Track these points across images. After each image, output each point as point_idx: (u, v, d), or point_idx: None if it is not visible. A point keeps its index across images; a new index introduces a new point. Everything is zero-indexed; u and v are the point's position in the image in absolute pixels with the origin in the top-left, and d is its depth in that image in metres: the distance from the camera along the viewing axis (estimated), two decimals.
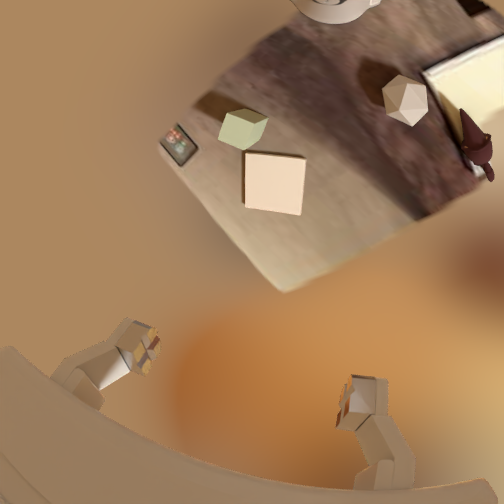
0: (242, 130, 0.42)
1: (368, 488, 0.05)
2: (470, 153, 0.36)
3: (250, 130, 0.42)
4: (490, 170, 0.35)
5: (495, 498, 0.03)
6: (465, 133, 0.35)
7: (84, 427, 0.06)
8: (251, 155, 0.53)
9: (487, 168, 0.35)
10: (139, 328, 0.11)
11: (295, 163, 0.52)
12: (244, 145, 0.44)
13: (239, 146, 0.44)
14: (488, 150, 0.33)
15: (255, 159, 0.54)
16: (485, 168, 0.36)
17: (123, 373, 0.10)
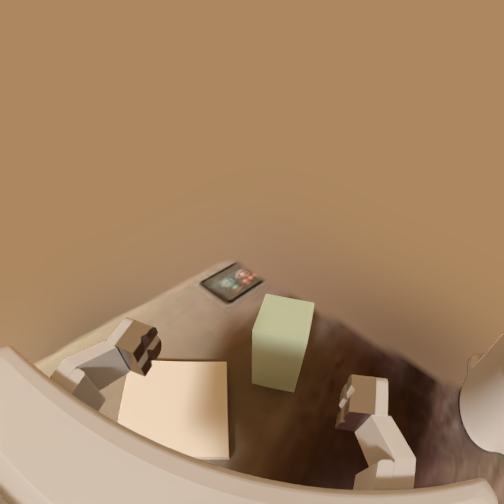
0: (290, 325, 0.25)
1: (368, 488, 0.05)
2: None
3: (293, 336, 0.24)
4: None
5: (495, 498, 0.03)
6: None
7: (84, 427, 0.06)
8: (223, 370, 0.30)
9: None
10: (139, 328, 0.11)
11: (217, 440, 0.23)
12: (262, 330, 0.24)
13: (258, 323, 0.25)
14: None
15: (217, 376, 0.29)
16: None
17: (123, 373, 0.10)
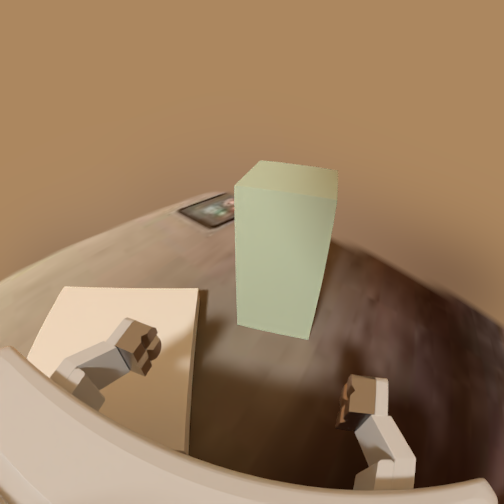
0: (302, 183, 0.14)
1: (368, 488, 0.05)
2: None
3: (309, 194, 0.13)
4: None
5: (495, 498, 0.03)
6: None
7: (84, 427, 0.06)
8: (192, 299, 0.19)
9: None
10: (139, 328, 0.11)
11: (166, 416, 0.12)
12: (252, 186, 0.13)
13: (246, 179, 0.14)
14: None
15: (180, 308, 0.19)
16: None
17: (123, 373, 0.10)
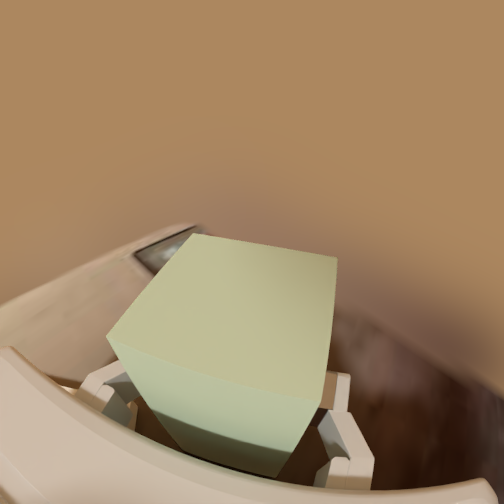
0: (249, 329, 0.06)
1: (322, 485, 0.06)
2: None
3: (257, 380, 0.05)
4: None
5: (495, 498, 0.03)
6: None
7: (84, 427, 0.06)
8: None
9: None
10: None
11: None
12: (137, 341, 0.06)
13: (136, 313, 0.06)
14: None
15: None
16: None
17: None
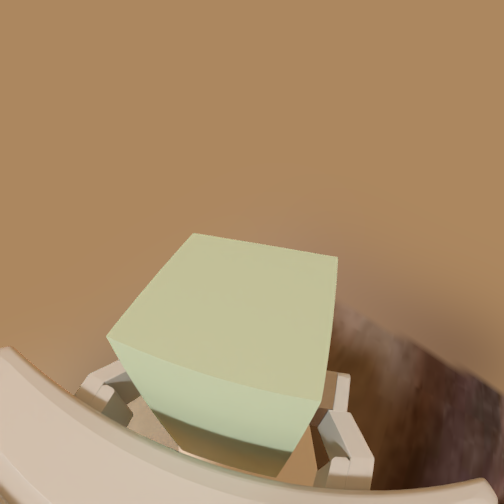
0: (249, 329, 0.06)
1: (322, 485, 0.06)
2: None
3: (257, 380, 0.05)
4: None
5: (495, 498, 0.03)
6: None
7: (84, 427, 0.06)
8: None
9: None
10: None
11: None
12: (137, 340, 0.06)
13: (136, 313, 0.06)
14: None
15: None
16: None
17: None
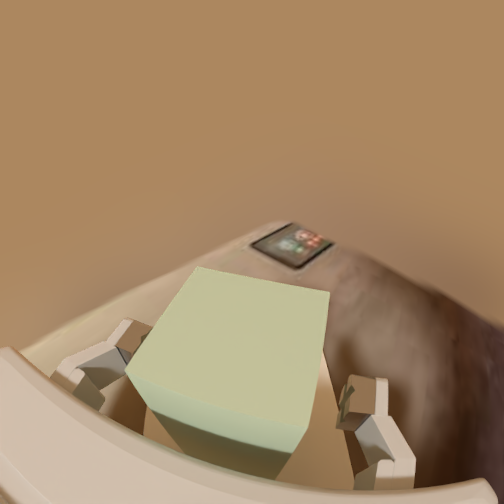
0: (249, 364, 0.07)
1: (368, 488, 0.05)
2: None
3: (255, 409, 0.06)
4: None
5: (495, 498, 0.03)
6: None
7: (84, 427, 0.06)
8: (321, 363, 0.18)
9: None
10: (139, 328, 0.11)
11: (337, 484, 0.11)
12: (153, 374, 0.07)
13: (149, 349, 0.07)
14: None
15: None
16: None
17: (123, 373, 0.10)
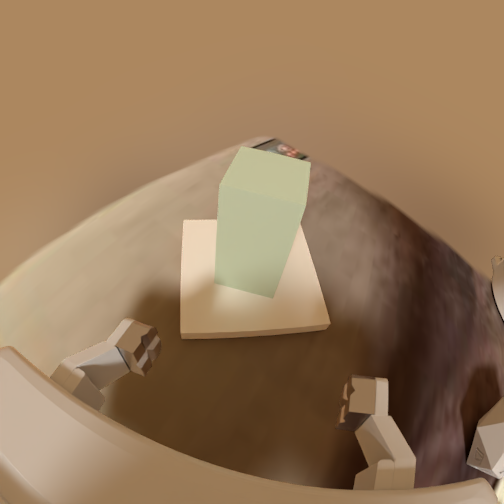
0: (277, 183, 0.16)
1: (368, 488, 0.05)
2: None
3: (283, 197, 0.15)
4: None
5: (495, 498, 0.03)
6: None
7: (84, 427, 0.06)
8: (299, 228, 0.29)
9: None
10: (139, 328, 0.11)
11: (314, 304, 0.23)
12: (234, 185, 0.16)
13: (229, 176, 0.16)
14: None
15: None
16: None
17: (123, 373, 0.10)
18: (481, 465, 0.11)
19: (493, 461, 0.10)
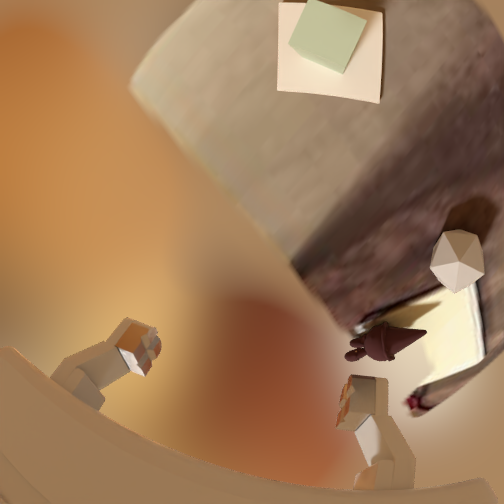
0: (330, 43, 0.17)
1: (368, 488, 0.05)
2: (379, 339, 0.40)
3: (331, 58, 0.17)
4: (358, 358, 0.43)
5: (495, 498, 0.03)
6: (401, 334, 0.40)
7: (84, 427, 0.06)
8: (379, 20, 0.20)
9: (361, 355, 0.43)
10: (139, 328, 0.11)
11: (371, 86, 0.25)
12: (298, 45, 0.17)
13: (295, 35, 0.17)
14: (381, 359, 0.41)
15: (373, 25, 0.21)
16: (360, 352, 0.43)
17: (123, 373, 0.10)
18: None
19: (433, 263, 0.31)
